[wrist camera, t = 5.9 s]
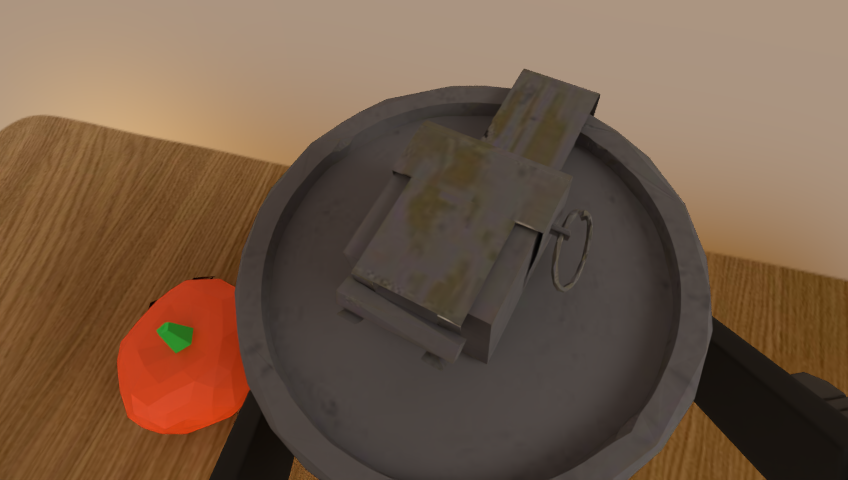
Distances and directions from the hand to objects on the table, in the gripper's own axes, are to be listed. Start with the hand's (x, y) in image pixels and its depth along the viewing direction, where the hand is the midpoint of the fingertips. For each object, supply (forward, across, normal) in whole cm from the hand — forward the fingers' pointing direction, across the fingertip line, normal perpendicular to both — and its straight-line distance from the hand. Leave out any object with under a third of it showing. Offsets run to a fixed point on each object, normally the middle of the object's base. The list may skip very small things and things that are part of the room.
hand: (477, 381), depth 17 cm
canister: (+9, 0, -7) cm, 11 cm away
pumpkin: (+12, -14, -4) cm, 18 cm away
